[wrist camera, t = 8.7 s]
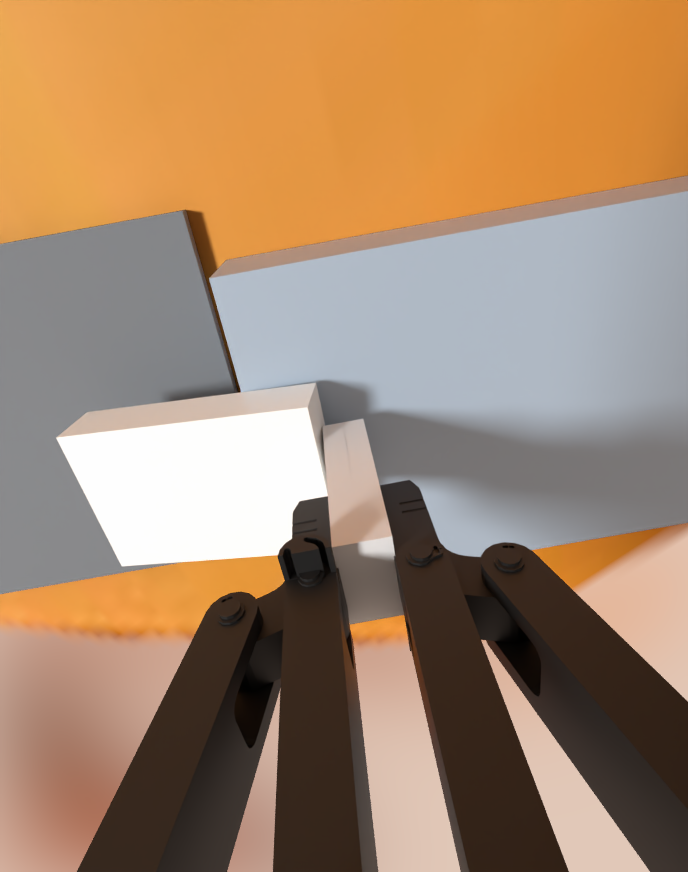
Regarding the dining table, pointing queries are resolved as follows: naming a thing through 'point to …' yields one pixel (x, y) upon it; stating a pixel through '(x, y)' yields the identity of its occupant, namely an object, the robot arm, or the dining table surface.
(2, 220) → the dining table surface
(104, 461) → the white rectangular block
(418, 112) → the dining table surface
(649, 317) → the block
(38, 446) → the mat
